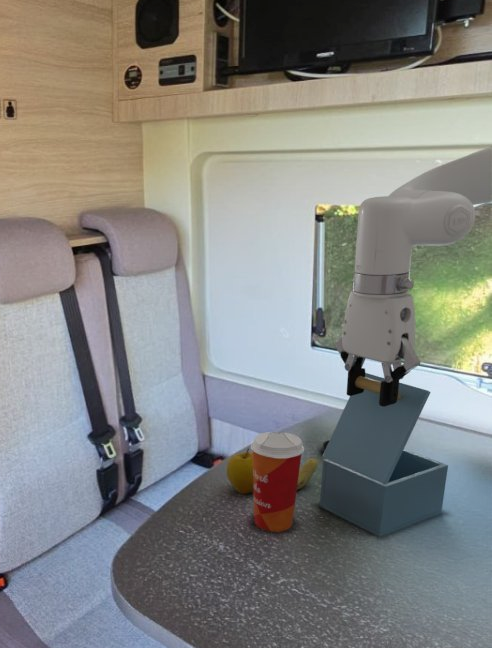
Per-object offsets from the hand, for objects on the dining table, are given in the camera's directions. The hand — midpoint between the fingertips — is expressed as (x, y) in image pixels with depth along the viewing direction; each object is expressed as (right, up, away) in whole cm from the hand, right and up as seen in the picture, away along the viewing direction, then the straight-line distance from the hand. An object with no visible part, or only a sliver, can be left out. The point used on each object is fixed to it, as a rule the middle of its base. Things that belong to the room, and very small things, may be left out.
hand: (371, 398), depth 113 cm
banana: (-5, -16, +19) cm, 25 cm away
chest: (+5, -19, +9) cm, 22 cm away
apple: (-15, -17, +19) cm, 29 cm away
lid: (+2, -5, +2) cm, 5 cm away
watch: (+8, -10, +34) cm, 36 cm away
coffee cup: (-13, -21, +7) cm, 26 cm away
